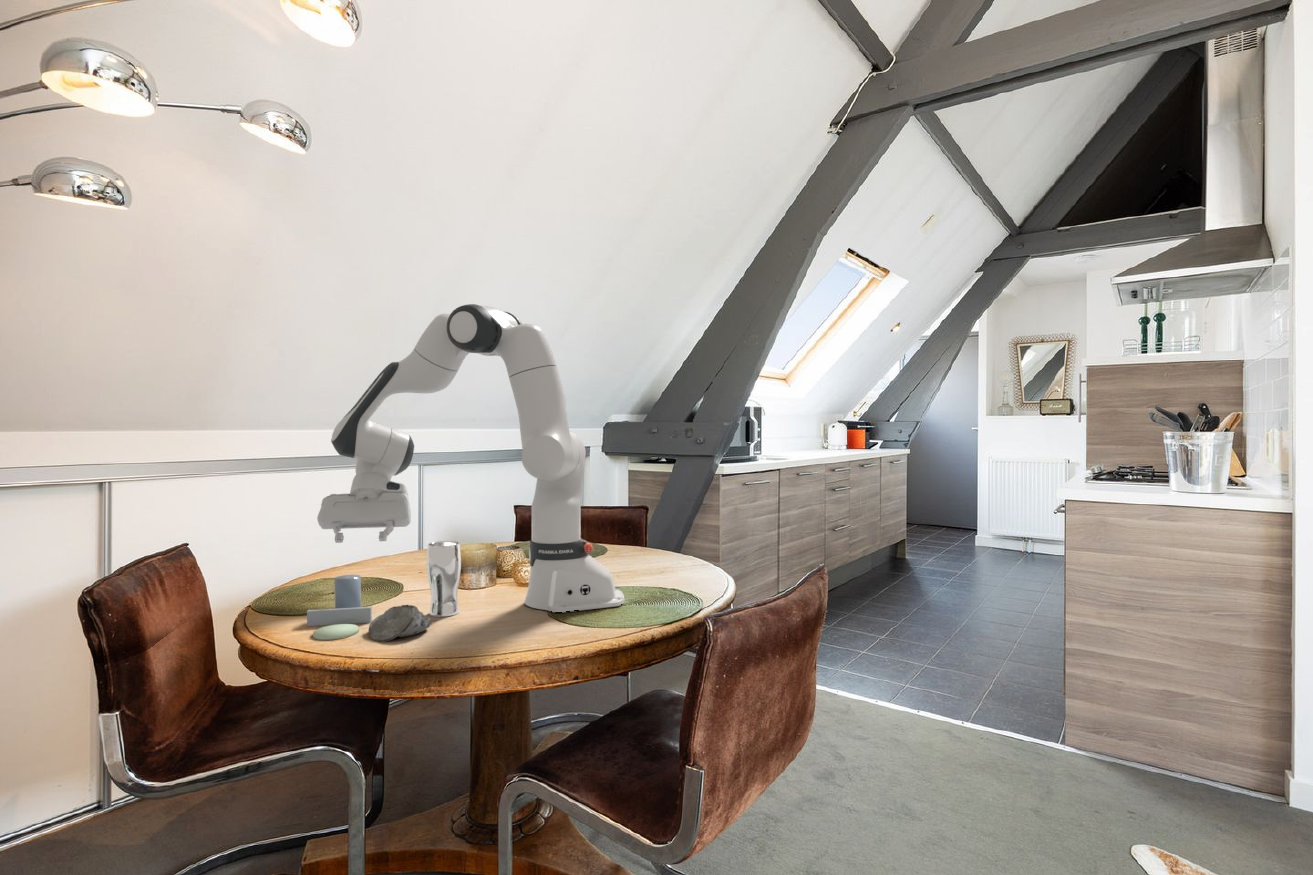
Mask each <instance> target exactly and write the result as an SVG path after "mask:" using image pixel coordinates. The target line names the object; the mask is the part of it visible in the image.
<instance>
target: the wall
mask: <svg viewBox="0 0 1313 875" xmlns="http://www.w3.org/2000/svg"><path fill="white" fill-rule="evenodd" d="M372 610H373V608H372V606H361V607H355V608H336V609H335V608H321V609H320V608H319V609H308V610H307V611H306V626H307V627H317V626H330V625H337V624H353V625H355V624H367V623H368V624H370V623H371V622H372V621H373V620H372V619H373V612H372Z"/></svg>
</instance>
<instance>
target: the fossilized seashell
mask: <svg viewBox="0 0 1313 875" xmlns="http://www.w3.org/2000/svg"><path fill="white" fill-rule="evenodd" d="M431 620H432V619H431V618H430V617H429V616H426V615H425V614H424V613H423V612H421V611H420V610H419V608H418V607H417V606H415V605H411V604H402V605H400V606H399V605H398V606H392V607H390V608H388V609H386V610H384V613H383V614H379V615H378V616H376V617H375V618H374V619H373V620H372V622H371V623H369V626H368V635H369V636H370V638H371V639H372V640H374V641H375V642H376V641H377V642H381V641H387V642H389V641H392V640H394V639H395V638H397V637H400V638H402V637H403V638H405V637H410V636H415V635H417V634H419V633H422V632H423V631H425V630H427V629H428V628H430V627H431V625H432V621H431Z"/></svg>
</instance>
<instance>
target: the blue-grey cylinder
mask: <svg viewBox="0 0 1313 875" xmlns="http://www.w3.org/2000/svg"><path fill="white" fill-rule="evenodd" d="M361 580H362V579H361V575H359V574H345V575H338V576H336V577H334V609H336V608H355V607H362V604H361V603H362V594H361V593H362V589H361V588H362V586H361V582H362V581H361Z"/></svg>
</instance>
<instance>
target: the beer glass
mask: <svg viewBox="0 0 1313 875" xmlns="http://www.w3.org/2000/svg"><path fill="white" fill-rule="evenodd" d="M461 554H462V553H461V542H460V541H456V540H440V541H439V540H437V541H432V542H429V543H428V544H427V553H426V572H427V578H428V583H429V588H430V594H431V595H430V597H431V599H430V602H431V603H430V606H429V616H431V617H434V618H445V617H452V616H456V615H458V614H459V612H460V607H459V601H458V589H459V583H460V577H461V570H462V556H461Z"/></svg>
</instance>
